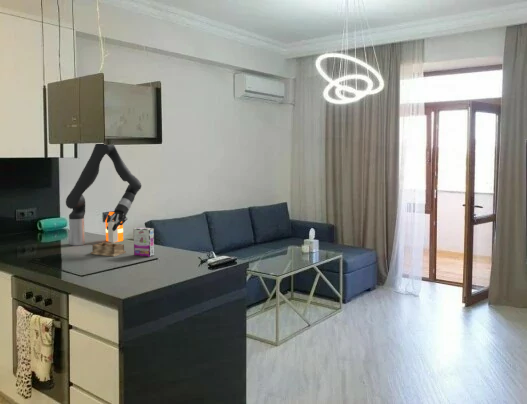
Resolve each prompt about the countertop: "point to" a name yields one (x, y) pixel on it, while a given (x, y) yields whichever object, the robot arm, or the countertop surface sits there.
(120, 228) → the orange juice
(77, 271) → the countertop surface
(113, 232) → the clay bar
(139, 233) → the candy bar box
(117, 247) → the brown woven basket
